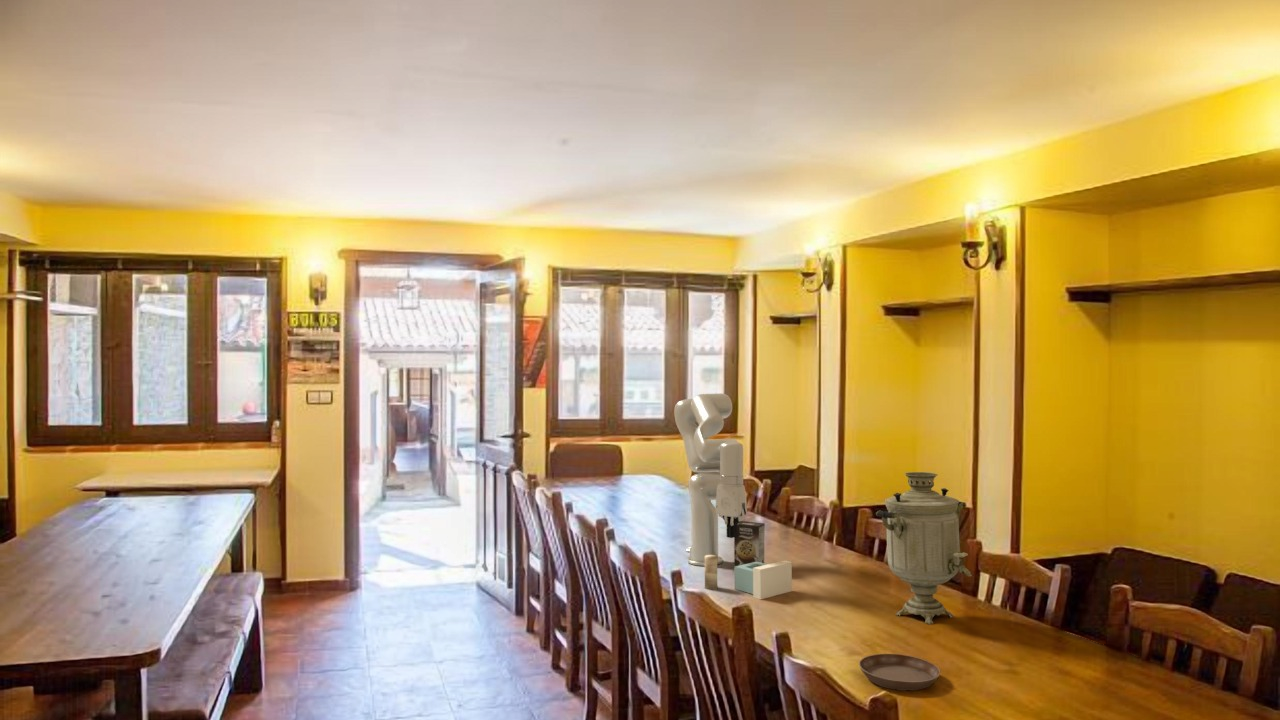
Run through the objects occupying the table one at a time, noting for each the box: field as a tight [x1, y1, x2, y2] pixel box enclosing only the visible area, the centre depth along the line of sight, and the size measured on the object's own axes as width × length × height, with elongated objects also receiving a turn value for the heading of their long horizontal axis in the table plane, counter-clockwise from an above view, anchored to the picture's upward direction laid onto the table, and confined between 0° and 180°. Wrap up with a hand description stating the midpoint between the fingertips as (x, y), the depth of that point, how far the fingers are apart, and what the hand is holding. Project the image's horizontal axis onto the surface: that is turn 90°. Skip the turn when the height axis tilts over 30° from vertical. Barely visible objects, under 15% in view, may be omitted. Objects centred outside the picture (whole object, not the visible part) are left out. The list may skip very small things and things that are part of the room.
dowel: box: [704, 555, 718, 591], centre depth 274 cm, size 4×4×10 cm
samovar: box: [875, 471, 972, 625], centre depth 241 cm, size 30×26×40 cm
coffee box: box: [733, 520, 766, 571], centre depth 297 cm, size 9×6×16 cm
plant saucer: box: [858, 653, 941, 691], centre depth 197 cm, size 18×18×3 cm
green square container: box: [734, 562, 768, 595], centre depth 272 cm, size 10×10×7 cm
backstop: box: [752, 560, 793, 600], centre depth 267 cm, size 3×14×9 cm, turn 129°
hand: (731, 536), depth 280 cm, fingers closed
